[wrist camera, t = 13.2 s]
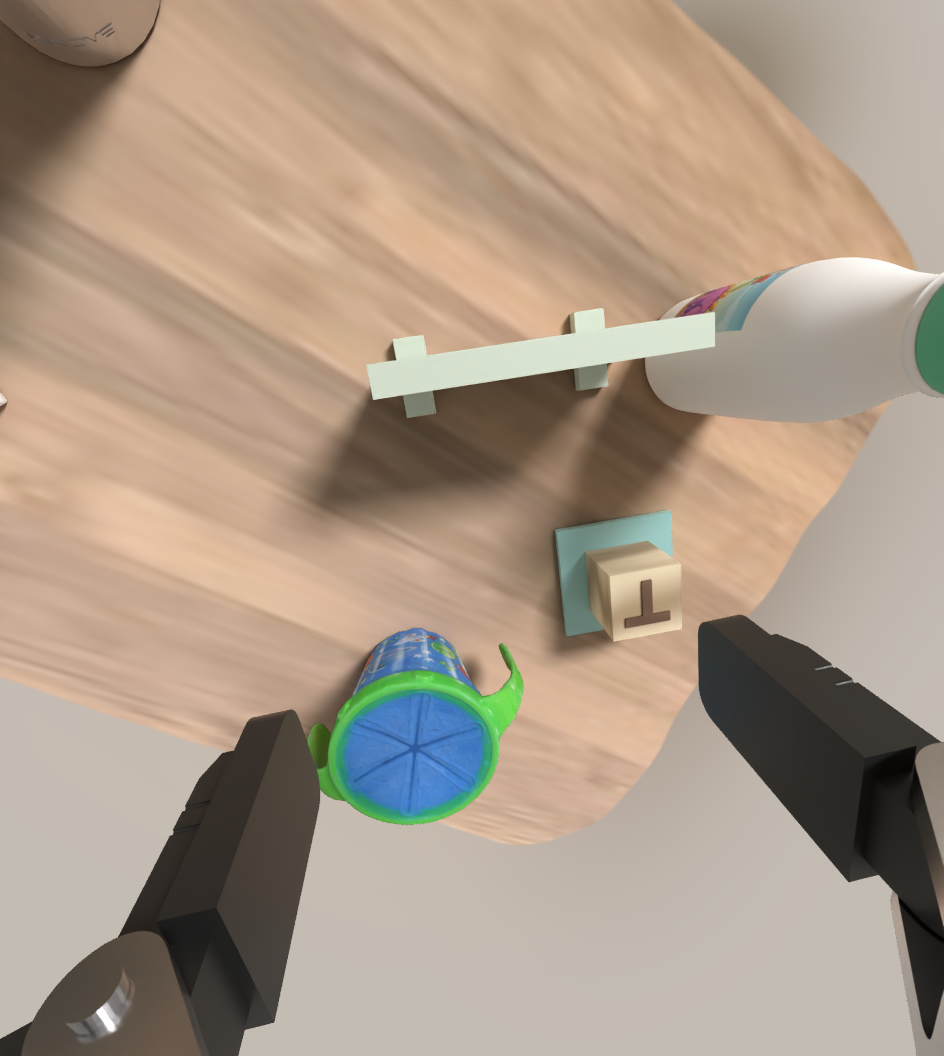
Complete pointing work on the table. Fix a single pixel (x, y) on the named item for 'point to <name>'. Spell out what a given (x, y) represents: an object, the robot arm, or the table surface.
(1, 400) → the syrup box
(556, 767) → the table surface
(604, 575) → the letter cube
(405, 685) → the snack cup
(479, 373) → the screen
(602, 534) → the pad
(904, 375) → the milk bottle
